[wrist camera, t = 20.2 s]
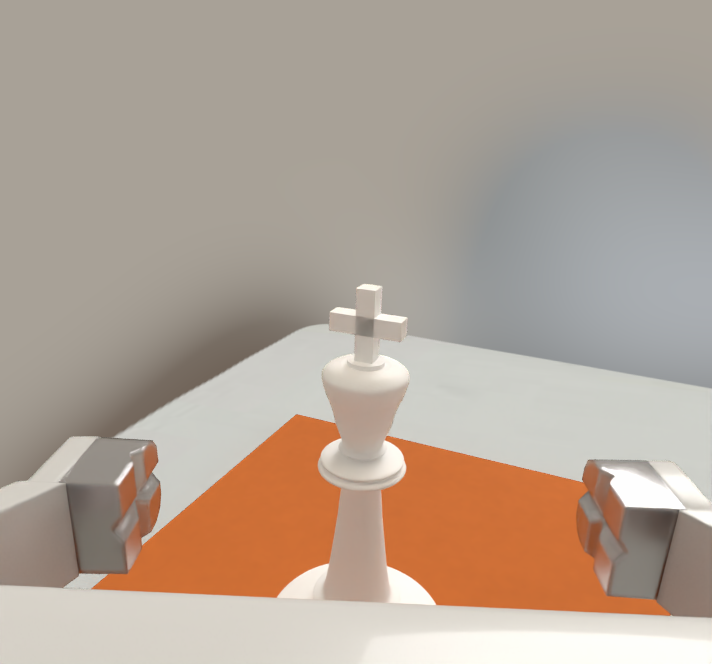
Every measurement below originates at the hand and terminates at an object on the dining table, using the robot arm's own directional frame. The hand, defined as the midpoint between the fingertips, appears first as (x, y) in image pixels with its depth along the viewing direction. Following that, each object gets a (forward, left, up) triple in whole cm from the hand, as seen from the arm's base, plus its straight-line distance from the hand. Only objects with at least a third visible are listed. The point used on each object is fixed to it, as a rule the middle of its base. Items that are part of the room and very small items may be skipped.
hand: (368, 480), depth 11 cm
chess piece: (-1, -3, -7) cm, 8 cm away
